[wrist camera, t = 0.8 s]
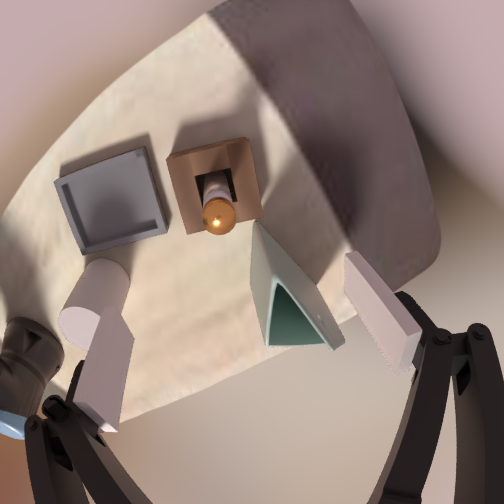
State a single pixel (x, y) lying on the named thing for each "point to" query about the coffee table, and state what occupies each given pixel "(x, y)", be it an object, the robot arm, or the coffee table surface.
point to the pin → (217, 204)
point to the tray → (112, 202)
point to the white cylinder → (92, 300)
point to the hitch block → (209, 160)
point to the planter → (288, 298)
